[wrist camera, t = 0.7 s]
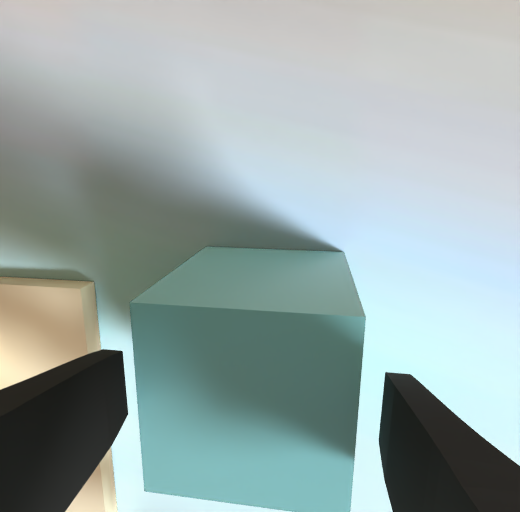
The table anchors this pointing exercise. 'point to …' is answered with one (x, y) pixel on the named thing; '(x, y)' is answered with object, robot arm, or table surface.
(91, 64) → the table surface
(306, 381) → the pale aqua cube
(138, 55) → the table surface
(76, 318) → the birch board
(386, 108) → the table surface
